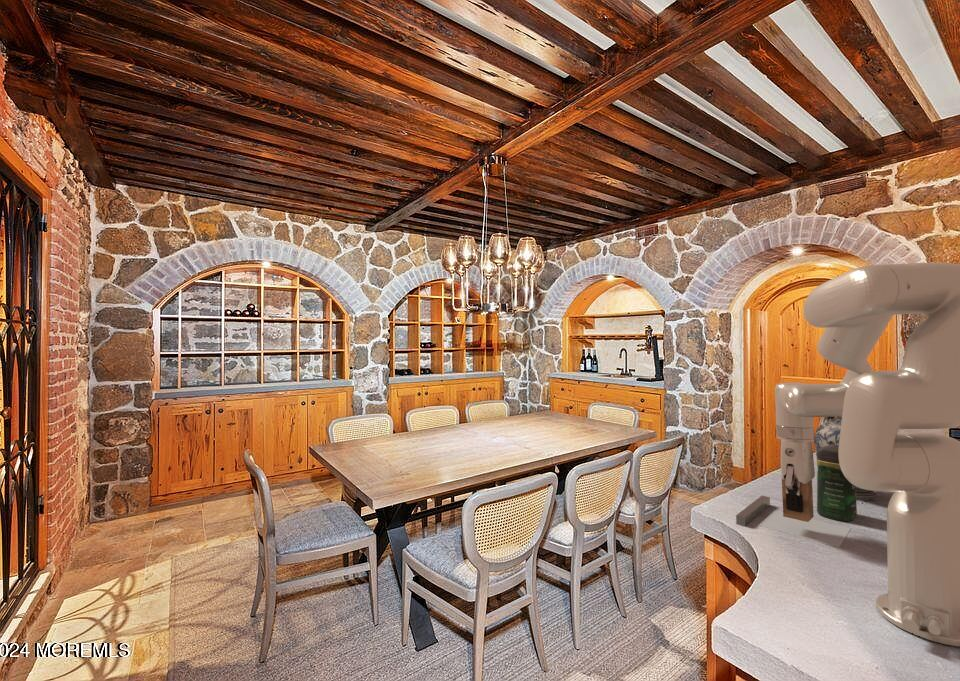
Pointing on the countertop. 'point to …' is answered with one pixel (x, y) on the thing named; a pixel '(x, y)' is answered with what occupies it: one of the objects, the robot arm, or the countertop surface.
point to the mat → (807, 529)
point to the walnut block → (807, 502)
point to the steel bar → (752, 511)
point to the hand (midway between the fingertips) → (798, 507)
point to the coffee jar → (834, 487)
